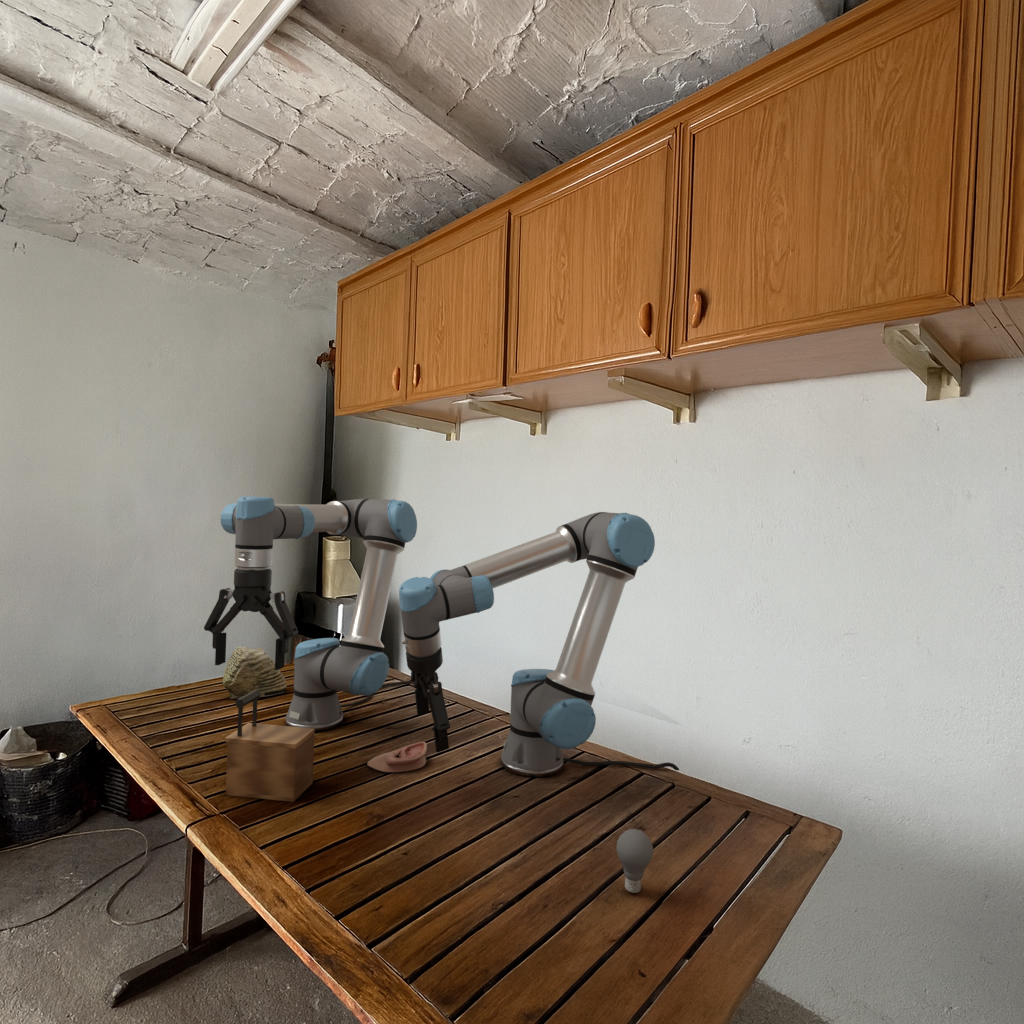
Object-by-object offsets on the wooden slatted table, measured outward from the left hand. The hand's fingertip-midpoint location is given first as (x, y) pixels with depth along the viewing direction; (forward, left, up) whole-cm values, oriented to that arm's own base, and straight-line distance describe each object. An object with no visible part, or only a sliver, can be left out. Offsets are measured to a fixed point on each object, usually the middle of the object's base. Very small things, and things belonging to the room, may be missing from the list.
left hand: (249, 666), depth 137 cm
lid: (-3, +5, -15) cm, 16 cm away
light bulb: (-24, +81, -26) cm, 88 cm away
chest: (-3, +5, -26) cm, 27 cm away
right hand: (-28, +29, -14) cm, 42 cm away
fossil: (-33, -56, -26) cm, 70 cm away
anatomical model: (-30, +14, -26) cm, 43 cm away
